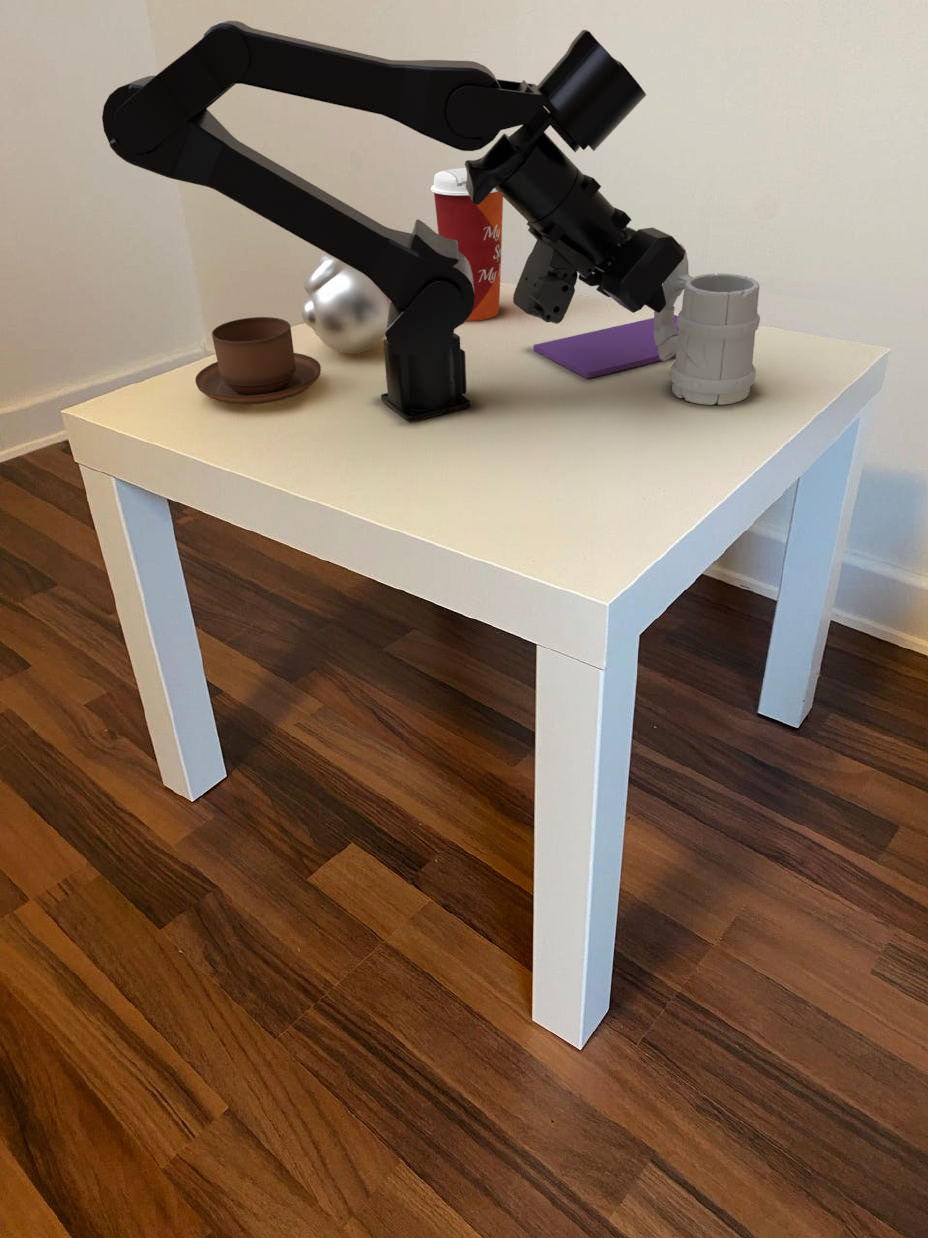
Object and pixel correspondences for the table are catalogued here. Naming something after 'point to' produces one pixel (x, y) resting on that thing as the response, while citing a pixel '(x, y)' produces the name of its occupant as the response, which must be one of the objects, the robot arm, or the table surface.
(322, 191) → the robot arm
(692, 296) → the mug
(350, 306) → the silver lumpy ball
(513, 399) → the table surface
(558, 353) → the purple rectangular board
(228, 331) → the cup and saucer
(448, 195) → the coffee cup
